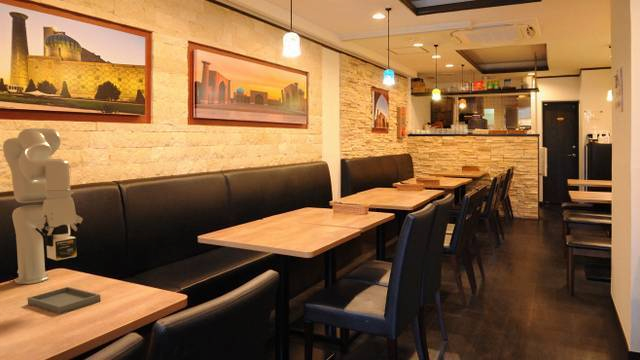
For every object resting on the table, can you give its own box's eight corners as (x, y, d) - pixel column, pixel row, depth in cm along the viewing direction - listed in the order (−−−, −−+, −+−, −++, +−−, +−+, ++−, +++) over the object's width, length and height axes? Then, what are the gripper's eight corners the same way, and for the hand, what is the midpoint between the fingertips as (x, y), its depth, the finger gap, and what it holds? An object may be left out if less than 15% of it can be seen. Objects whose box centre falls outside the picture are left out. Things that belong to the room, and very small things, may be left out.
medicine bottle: (56, 260, 165) (54, 226, 164) (47, 257, 169) (45, 224, 168) (77, 256, 170) (75, 223, 169) (67, 253, 175) (65, 221, 174)
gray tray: (27, 304, 170) (27, 297, 169) (68, 292, 182) (68, 286, 182) (60, 314, 159) (59, 307, 159) (100, 301, 172) (100, 294, 172)
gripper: (75, 191, 177) (78, 238, 179) (27, 196, 162) (30, 247, 164) (88, 192, 173) (90, 240, 175) (39, 198, 159) (42, 249, 160)
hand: (61, 243), depth 169 cm, fingers closed on medicine bottle, 7 cm apart
